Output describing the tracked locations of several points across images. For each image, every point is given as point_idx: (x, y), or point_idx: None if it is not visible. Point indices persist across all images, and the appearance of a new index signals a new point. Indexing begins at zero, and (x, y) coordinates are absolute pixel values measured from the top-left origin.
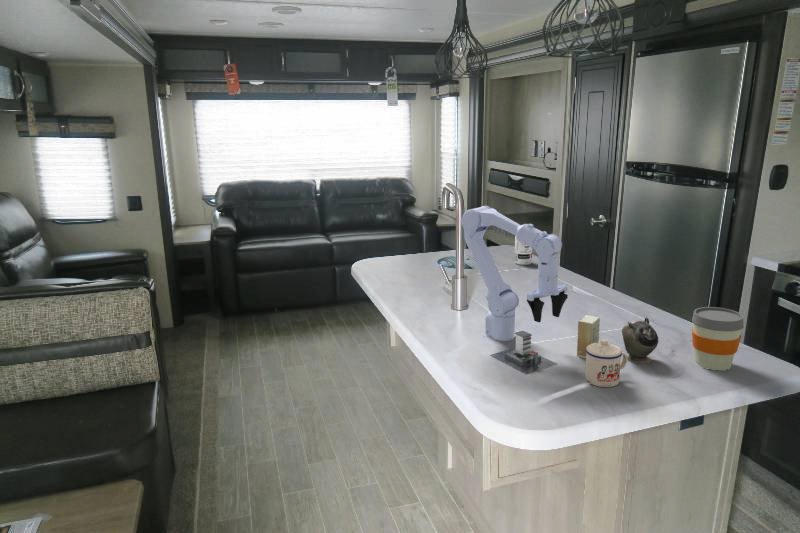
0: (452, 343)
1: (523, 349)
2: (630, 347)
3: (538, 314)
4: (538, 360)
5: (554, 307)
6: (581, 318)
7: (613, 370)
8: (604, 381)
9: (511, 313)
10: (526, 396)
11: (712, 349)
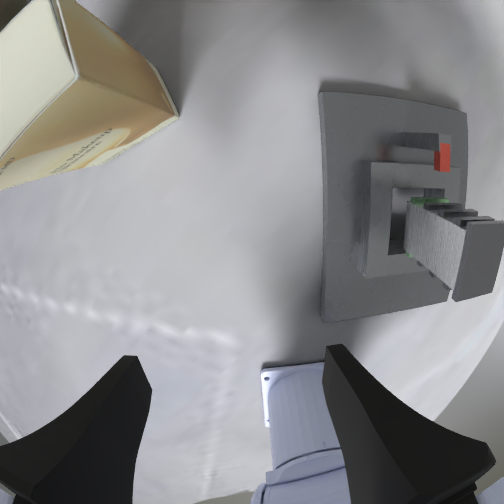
0: (416, 398)
1: (459, 204)
2: (24, 4)
3: (382, 389)
4: (378, 161)
5: (128, 434)
6: (14, 142)
7: None
8: None
9: (313, 463)
10: (495, 49)
11: None
